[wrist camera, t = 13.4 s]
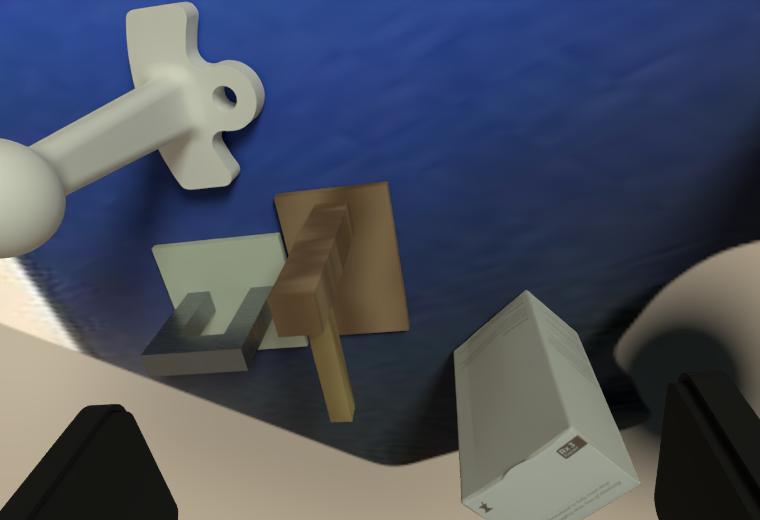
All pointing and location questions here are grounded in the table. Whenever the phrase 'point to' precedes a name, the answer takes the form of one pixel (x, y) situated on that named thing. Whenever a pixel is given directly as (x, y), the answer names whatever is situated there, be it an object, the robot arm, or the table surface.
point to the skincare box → (535, 421)
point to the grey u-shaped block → (208, 337)
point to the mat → (225, 276)
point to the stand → (338, 277)
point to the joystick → (133, 128)
